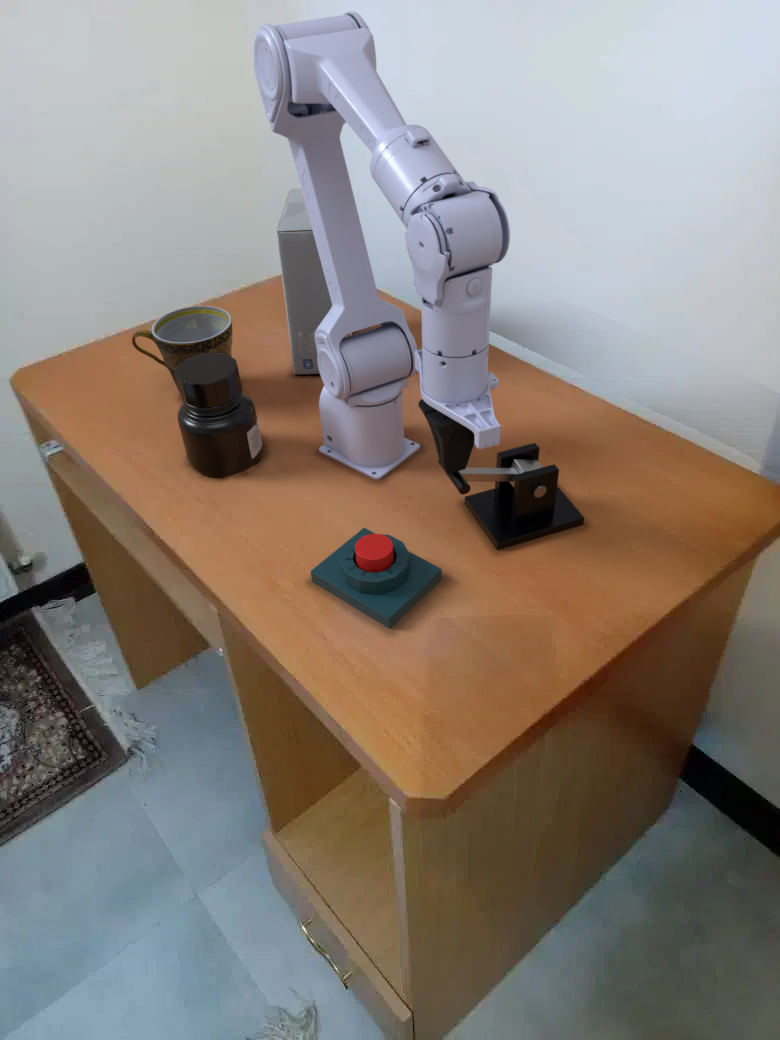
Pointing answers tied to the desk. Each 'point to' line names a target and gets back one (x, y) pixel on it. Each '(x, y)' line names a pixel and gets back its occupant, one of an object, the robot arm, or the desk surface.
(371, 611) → the button box
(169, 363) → the ceramic cup
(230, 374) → the ink bottle
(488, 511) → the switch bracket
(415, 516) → the desk surface
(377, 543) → the power button
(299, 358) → the hard drive box
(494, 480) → the switch lever
